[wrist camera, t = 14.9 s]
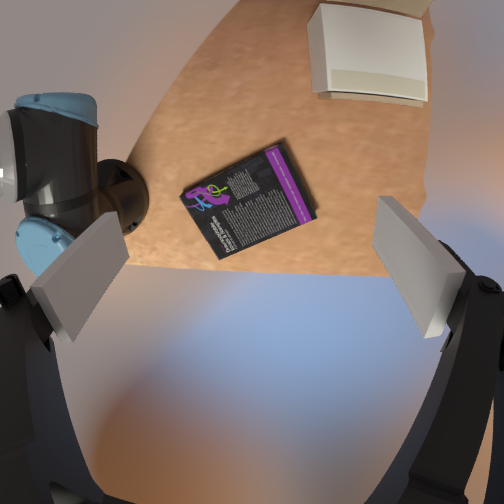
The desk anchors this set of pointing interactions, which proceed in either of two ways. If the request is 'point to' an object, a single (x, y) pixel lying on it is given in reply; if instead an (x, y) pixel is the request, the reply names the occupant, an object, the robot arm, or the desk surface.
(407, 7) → the flap
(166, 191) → the desk surface
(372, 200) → the desk surface
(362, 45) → the carton
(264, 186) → the box
